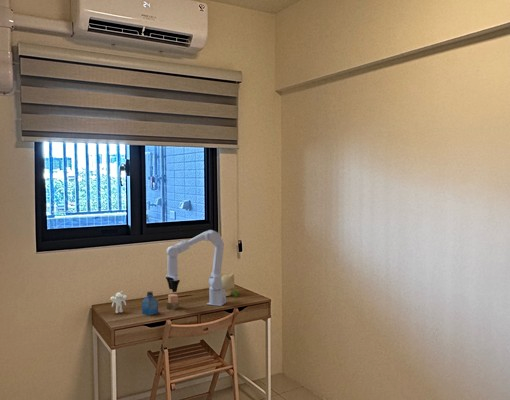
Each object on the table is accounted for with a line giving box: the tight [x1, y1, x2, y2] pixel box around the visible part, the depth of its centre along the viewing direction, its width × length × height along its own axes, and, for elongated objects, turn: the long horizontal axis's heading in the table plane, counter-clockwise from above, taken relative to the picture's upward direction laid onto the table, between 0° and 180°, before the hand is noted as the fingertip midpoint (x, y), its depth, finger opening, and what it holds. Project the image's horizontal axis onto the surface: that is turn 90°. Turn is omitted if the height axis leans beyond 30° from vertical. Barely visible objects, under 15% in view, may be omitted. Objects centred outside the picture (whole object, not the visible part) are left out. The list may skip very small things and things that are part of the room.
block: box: [167, 293, 179, 303], centre depth 272 cm, size 4×4×4 cm
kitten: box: [221, 272, 239, 298], centre depth 299 cm, size 15×10×15 cm
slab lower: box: [166, 305, 180, 311], centre depth 273 cm, size 5×5×2 cm
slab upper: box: [166, 300, 180, 307], centre depth 272 cm, size 5×5×2 cm
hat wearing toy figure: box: [110, 290, 128, 314], centre depth 265 cm, size 9×4×12 cm, turn 118°
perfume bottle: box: [141, 291, 159, 317], centre depth 263 cm, size 6×6×12 cm
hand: (172, 290), depth 272 cm, fingers open, 7 cm apart
